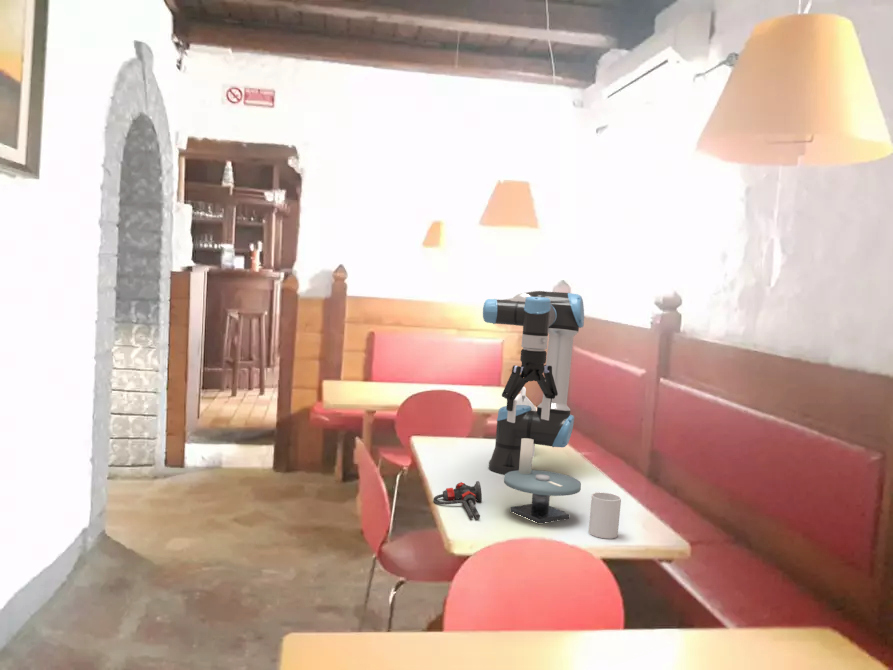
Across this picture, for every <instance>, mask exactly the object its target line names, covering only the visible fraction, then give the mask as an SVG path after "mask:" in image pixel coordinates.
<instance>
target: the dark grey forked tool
mask: <svg viewBox="0 0 893 670" xmlns="http://www.w3.org/2000/svg"><path fill="white" fill-rule="evenodd" d="M482 493H483V492H482V486H481V483H480V481H479V480H476V481H475V484H474V485H472V486H470V485H467V484H466V483H464V482H462V481H460V482H458V483H457V484H455V488H453V487H447V488H445V490H443V491H442V494H437V495H436V496H434V498H433V502H434V503H435V504H437V505H443V506H445V505H457V504H462V505H463V506H464V507H465V509H466V512H467V514H468V516H469V518H470V519H474V517H475V519H477V520H479V519H480V517H481V515H480V513H479V511H478V509H477V508H476V505H477V502H478V501H479V502H478V503H482V502H483V500H482V499H483V495H482ZM438 499H443V500H438ZM477 500H478V501H477Z"/></svg>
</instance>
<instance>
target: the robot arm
mask: <svg viewBox="0 0 893 670" xmlns="http://www.w3.org/2000/svg"><path fill="white" fill-rule="evenodd" d="M584 307H585V306H584V300H583V298H582V296H581V295H580V294H577V293H572V292H561V291H560V292H559V291H558V292H557V291H544V290H534V291H528V292H523V293H518V294H516V295H515V296H513V297H511V298H506V299H497V298H488V299H486V300H485V301H484V303H483V307H482V318H483V321H484V322H485V323H487V324H493V325H496V324H498V325H505V326H506V325H508V326H509V325H510V326H520V327H522V336H521V344H520V347H521V348H522V349H521V350H520V362H521V365H520V366H519V365H512V367H511V369H512V370H511V373H510V376H509V377H508V380H507V382H506V385H505V387H504V389H503V391H502V393H501V397H503V398H504V399H506V405H505V406H501V407H500V408H499V409H498V412H497V418H496V430H495V431H496V432H495V446H494V449H493V451H492V454H491V458H490V459H489V461H488V470H490V471H491V472H493V473H494V472H495V473H497V474H502V475H505V474H506V473H508V472H511V471H517V470H519V463H520V451H521V439H522V438H529V439H533V440H534V442H533V444H535V445H538V446H539V445H540V446H545V447H552V448H566V447H567V446H568V444H569V442H570V439H571V435H572V433H573V429H574V423H575V415H572V414H571V409H570V407H569V406H568V404H567V403H568V395H569V384H570V383H569V382H570V375H571V364H572V354H573V344H574V337H575V336H576V335H577V334H579V329H581V328H584V324H585V309H584ZM528 382H537V385H538V386H539V388H540V390H541V392H542V401H541V402H540V403H539V404H538V405H537V406H536V407H537V408H536V411H532V408H531V406H529V405H528V406H527V405H516V404H517V401H516V400H514V399H515V398H516V397H517V395H518V394H520V392H521V389H522V388H523V387H525V385H526V384H527V383H528Z"/></svg>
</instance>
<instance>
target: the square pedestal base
mask: <svg viewBox="0 0 893 670" xmlns="http://www.w3.org/2000/svg"><path fill="white" fill-rule="evenodd" d="M531 496H532V497H531V503H527V504H521V505H516V506H510V510H509V512H510V511H511V512H514V513H516V514H518V515H521V516H523V517H526V518H528V519H530V520H533V521H535V522H537V523H543V524H546V523H545V522H549V523H552V522H551V521H554V522H558V521H557V520H560V521H563V520H564V519H566V520H570V513H568V512H565V511H563V510H561V509H558V508H555V507H553V506H552V505H550V500H551V499H550V497H551V496H547V495H537V494H532V495H531ZM511 512H510V513H511ZM516 514H515V515H516ZM518 515H517V516H518ZM523 517H522V518H523ZM530 520H529V521H530ZM564 521H565V520H564ZM537 523H536V524H537Z"/></svg>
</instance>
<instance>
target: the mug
mask: <svg viewBox="0 0 893 670" xmlns="http://www.w3.org/2000/svg"><path fill="white" fill-rule="evenodd" d="M621 502H622V497H621V496H619V495H617V494H614V493H609V492H600V491H595V492H594V493H592V494H591V500H590V509H589V510H590V512H589V521H588V533H589V534H590V535H591V536H593V537H596V538H600V539H608V540H609V539H610V540H611V539H617V538H618V535H619V526H620V516H621V504H622V503H621Z"/></svg>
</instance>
